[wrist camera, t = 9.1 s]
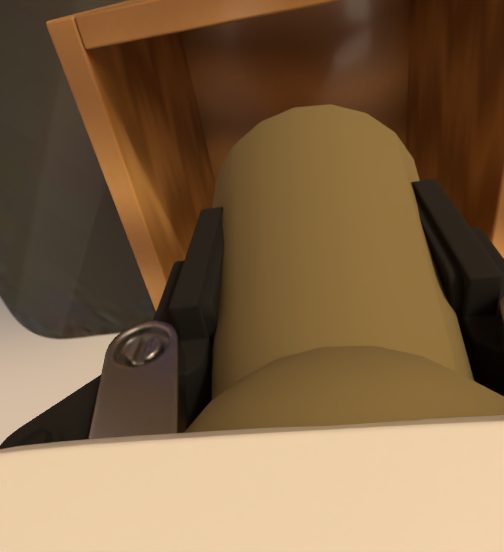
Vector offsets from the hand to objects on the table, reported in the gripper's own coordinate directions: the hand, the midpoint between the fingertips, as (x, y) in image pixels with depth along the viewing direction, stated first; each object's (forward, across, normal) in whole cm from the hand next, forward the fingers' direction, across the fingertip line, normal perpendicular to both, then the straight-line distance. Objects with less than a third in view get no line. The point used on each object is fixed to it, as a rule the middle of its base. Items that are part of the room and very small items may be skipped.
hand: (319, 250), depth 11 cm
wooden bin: (+16, 0, +1) cm, 16 cm away
